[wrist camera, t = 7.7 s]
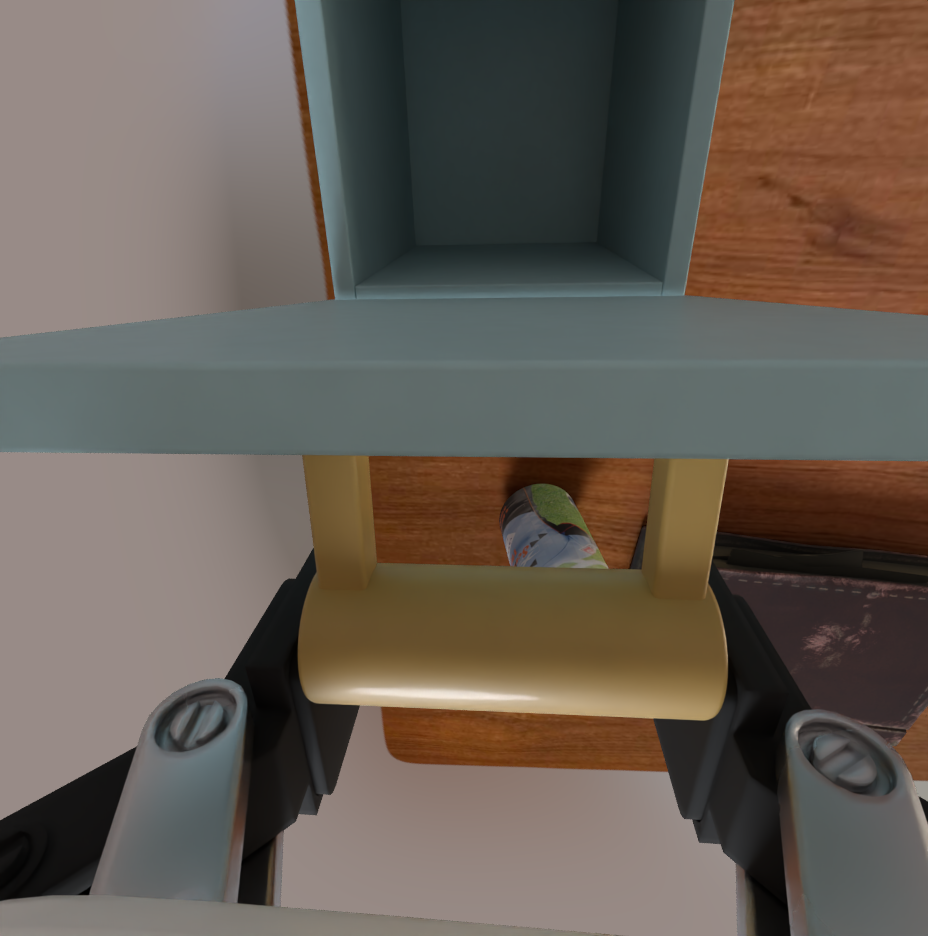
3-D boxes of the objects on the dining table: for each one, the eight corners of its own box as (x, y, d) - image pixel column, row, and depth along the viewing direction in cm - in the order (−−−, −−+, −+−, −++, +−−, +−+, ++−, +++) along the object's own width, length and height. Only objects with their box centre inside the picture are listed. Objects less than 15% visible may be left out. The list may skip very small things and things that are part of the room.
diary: (860, 704, 49) (895, 755, 45) (596, 676, 50) (605, 723, 46) (965, 547, 41) (1022, 591, 36) (643, 515, 41) (660, 554, 37)
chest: (384, -51, 26) (250, -316, 12) (638, -67, 25) (798, -370, 12) (406, 258, 33) (335, 308, 19) (606, 254, 32) (683, 305, 19)
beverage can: (493, 482, 41) (489, 586, 30) (588, 468, 40) (619, 570, 29) (507, 547, 44) (508, 662, 33) (596, 535, 42) (627, 650, 32)
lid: (-229, 363, 4) (-24, 811, 6) (1449, 358, 4) (1123, 883, 5) (331, 299, 19) (344, 440, 21) (688, 295, 18) (670, 442, 20)
